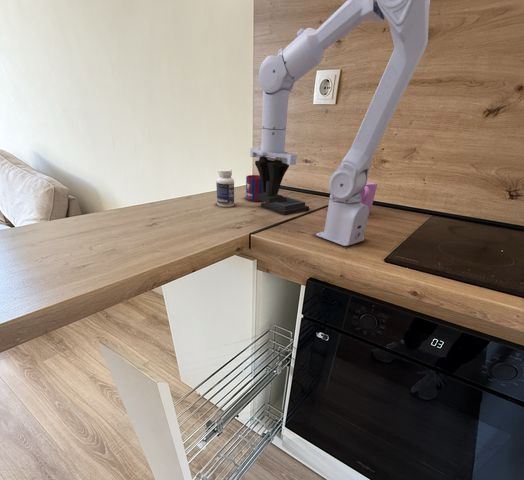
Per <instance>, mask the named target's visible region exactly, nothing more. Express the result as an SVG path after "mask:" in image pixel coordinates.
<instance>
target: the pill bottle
mask: <svg viewBox="0 0 524 480" xmlns="http://www.w3.org/2000/svg"><path fill="white" fill-rule="evenodd" d="M217 175H218V177H217V178H216V180H215V182H216V183H215V184H216V204H217V206H218V207H222V208H227V207H228V208H231V207H234V206H235V180H234V178H232V175H233V172H232V169H229V168H218V169H217Z"/></svg>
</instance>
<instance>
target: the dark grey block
mask: <svg viewBox="0 0 524 480" xmlns="http://www.w3.org/2000/svg"><path fill="white" fill-rule="evenodd" d="M283 197H284V195H281V194H279V193H278V194H274V195H272V194H270V181H266V193H262V194H257V199H258V200H261V201H260V202H263V203H265V202H267V203H273V202H279V201H283Z"/></svg>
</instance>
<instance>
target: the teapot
mask: <svg viewBox="0 0 524 480" xmlns="http://www.w3.org/2000/svg"><path fill="white" fill-rule="evenodd" d="M377 188H378V183H375V182H372V181H369V180H367V184H366V186H365V187H364V189H363V190H362V191H361V192H360V195H361V202H362V204H364V205H366V206H368V207H369V213H371V212H372V208H373V204H374V200H375V196H376V191H377ZM329 194H330V193H329ZM330 195H331V194H330ZM330 195H329V196H330Z"/></svg>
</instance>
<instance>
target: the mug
mask: <svg viewBox="0 0 524 480" xmlns="http://www.w3.org/2000/svg"><path fill="white" fill-rule="evenodd" d="M245 180H246V181H245V200H246V201H249V202H255V203H256V202H262V201H261V200H258V199H257V194H262V193H266V192H263V189H262V183H261V179H260V175H259V174H249V175H246V177H245Z"/></svg>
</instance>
